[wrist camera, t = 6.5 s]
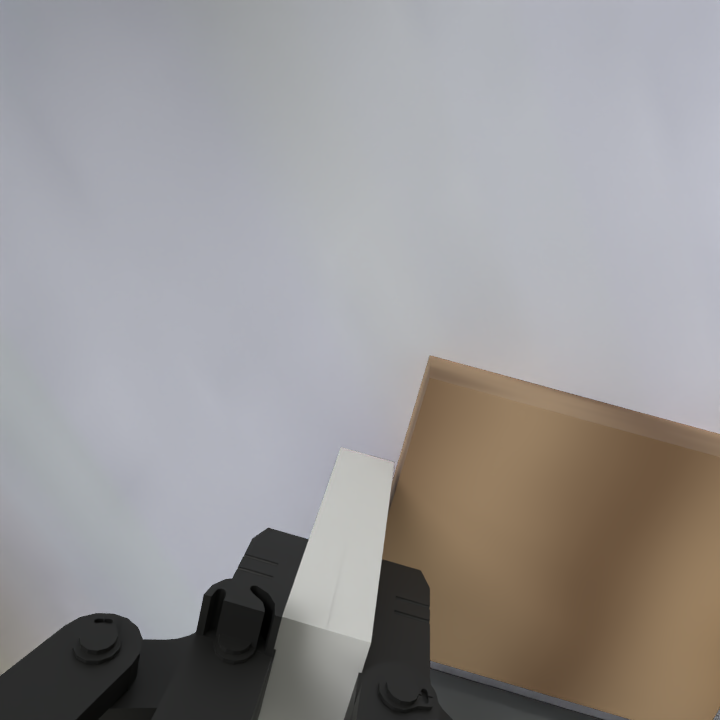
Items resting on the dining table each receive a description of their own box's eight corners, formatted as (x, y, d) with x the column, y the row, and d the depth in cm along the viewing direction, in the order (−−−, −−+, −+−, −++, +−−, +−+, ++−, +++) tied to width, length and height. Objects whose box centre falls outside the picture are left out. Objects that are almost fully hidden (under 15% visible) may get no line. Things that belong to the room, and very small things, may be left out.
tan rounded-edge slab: (361, 581, 19) (351, 637, 16) (430, 351, 16) (429, 377, 14) (666, 669, 18) (701, 740, 16) (780, 446, 16) (842, 490, 14)
